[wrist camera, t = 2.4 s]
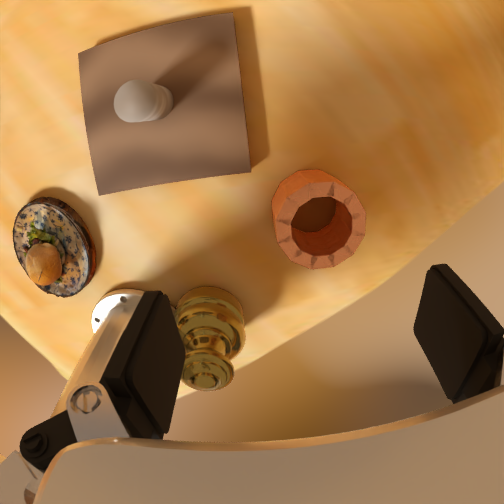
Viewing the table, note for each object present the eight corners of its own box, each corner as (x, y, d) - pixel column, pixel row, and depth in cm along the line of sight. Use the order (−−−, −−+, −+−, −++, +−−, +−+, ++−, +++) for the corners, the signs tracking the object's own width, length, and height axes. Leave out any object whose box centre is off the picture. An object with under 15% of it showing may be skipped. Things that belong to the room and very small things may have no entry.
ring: (346, 239, 28) (363, 263, 24) (275, 246, 28) (279, 272, 24) (346, 167, 25) (366, 179, 20) (268, 172, 25) (272, 185, 21)
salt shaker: (218, 271, 30) (215, 336, 21) (256, 321, 33) (265, 390, 24) (162, 304, 31) (142, 370, 22) (202, 348, 34) (197, 416, 25)
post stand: (251, 169, 25) (251, 186, 19) (105, 191, 26) (71, 213, 20) (233, 17, 19) (228, -11, 13) (86, 55, 20) (47, 46, 14)
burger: (23, 184, 25) (-20, 205, 18) (105, 216, 27) (67, 248, 20) (21, 269, 30) (-11, 300, 23) (92, 304, 32) (66, 344, 25)
